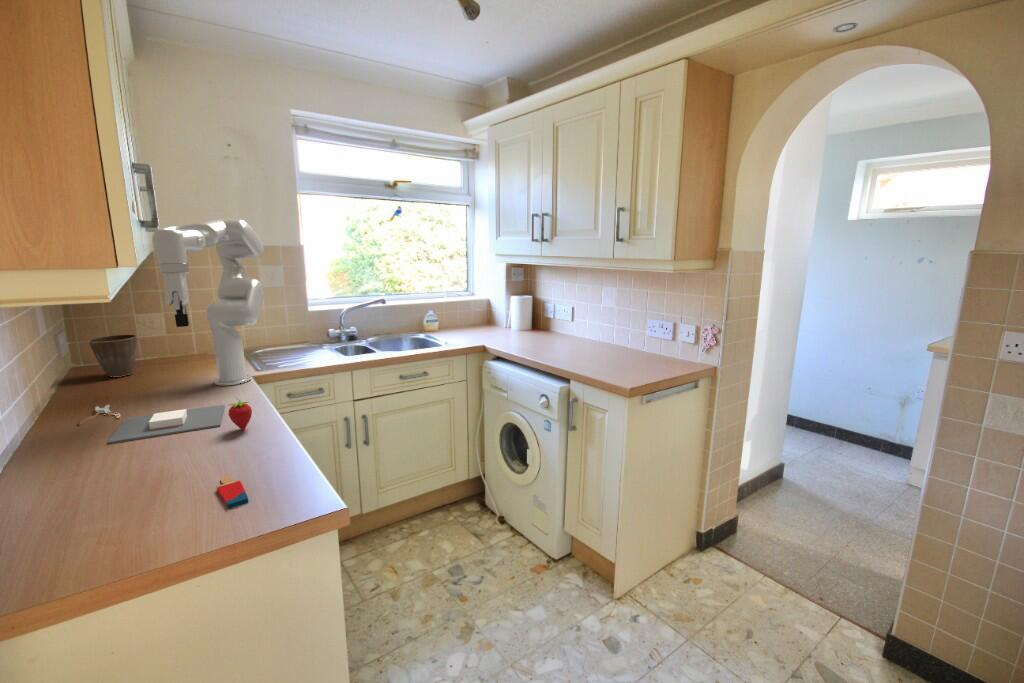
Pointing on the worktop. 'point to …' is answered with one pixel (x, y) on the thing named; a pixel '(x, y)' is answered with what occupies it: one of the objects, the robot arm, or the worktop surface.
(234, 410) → the strawberry
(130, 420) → the mat
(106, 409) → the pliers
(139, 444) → the worktop surface
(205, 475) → the worktop surface
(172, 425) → the tile
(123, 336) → the plant pot
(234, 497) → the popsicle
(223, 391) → the worktop surface
